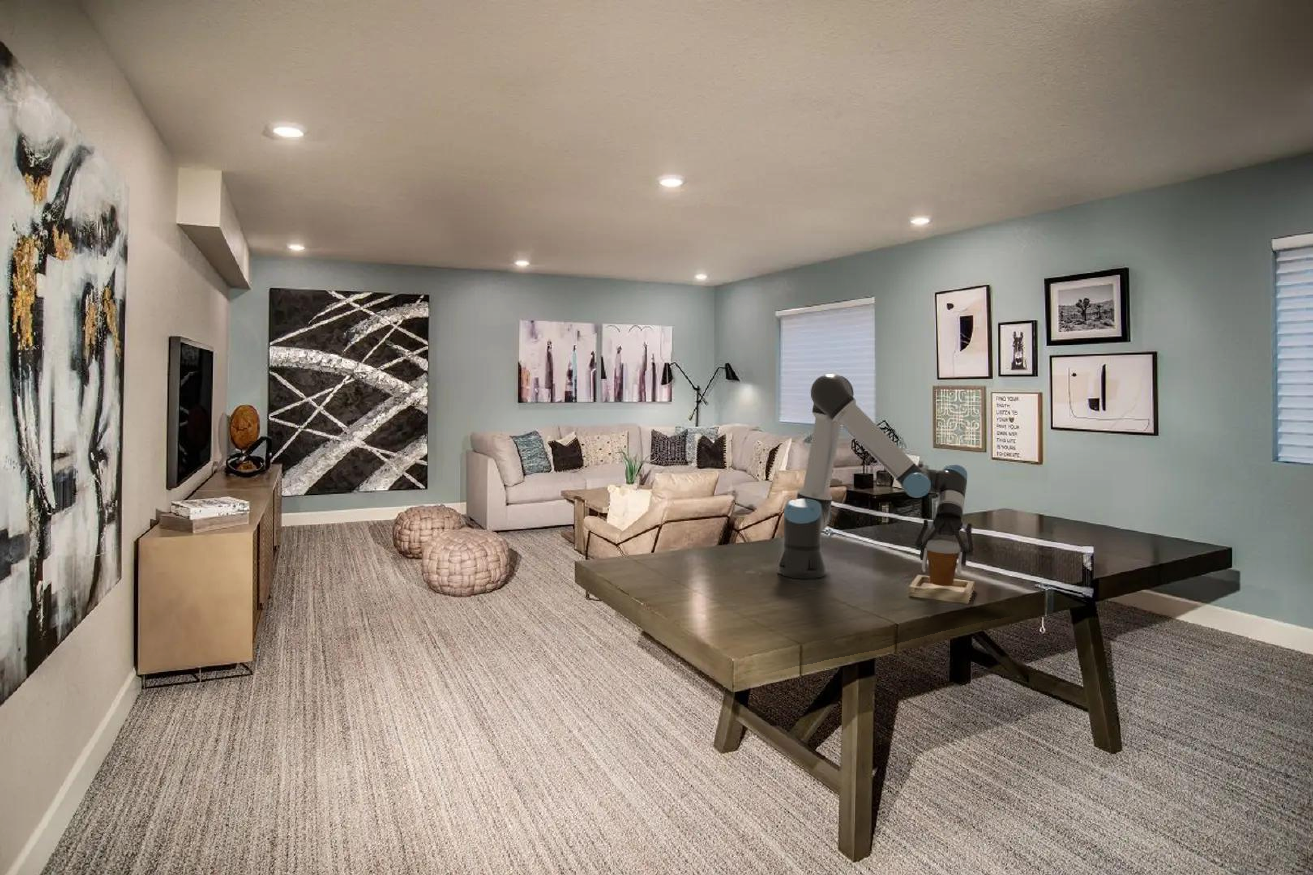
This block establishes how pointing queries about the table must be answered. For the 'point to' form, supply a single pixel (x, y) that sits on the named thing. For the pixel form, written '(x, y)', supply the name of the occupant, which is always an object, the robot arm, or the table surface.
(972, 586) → the tray
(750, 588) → the table surface
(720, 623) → the table surface
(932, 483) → the robot arm
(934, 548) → the disposable coffee cup
